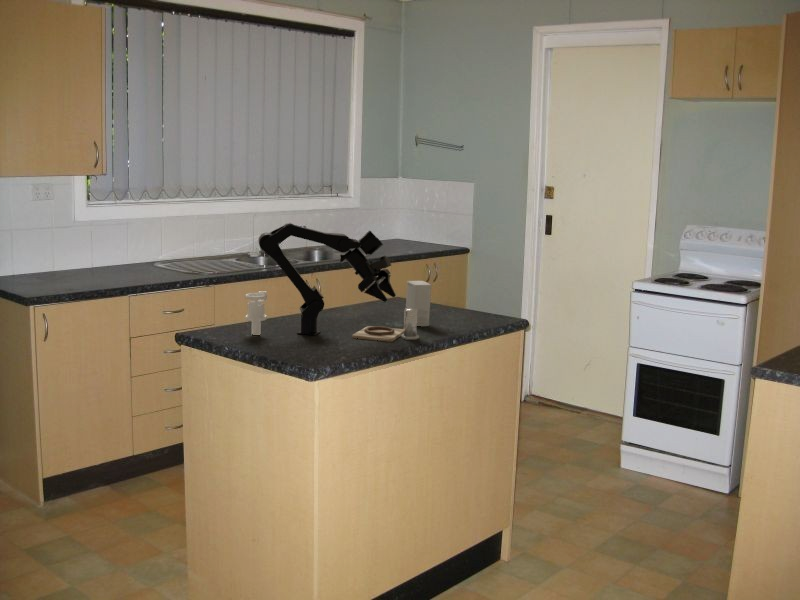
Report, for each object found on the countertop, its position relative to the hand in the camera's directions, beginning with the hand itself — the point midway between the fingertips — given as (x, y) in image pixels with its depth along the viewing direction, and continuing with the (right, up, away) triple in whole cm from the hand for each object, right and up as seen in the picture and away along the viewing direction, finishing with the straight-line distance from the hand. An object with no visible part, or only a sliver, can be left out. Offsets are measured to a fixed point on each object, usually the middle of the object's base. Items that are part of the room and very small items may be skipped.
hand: (390, 298), depth 305 cm
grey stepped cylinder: (-45, -12, -2) cm, 47 cm away
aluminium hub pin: (+7, -13, 0) cm, 15 cm away
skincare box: (+9, -9, +23) cm, 26 cm away
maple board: (-4, -12, +3) cm, 14 cm away
